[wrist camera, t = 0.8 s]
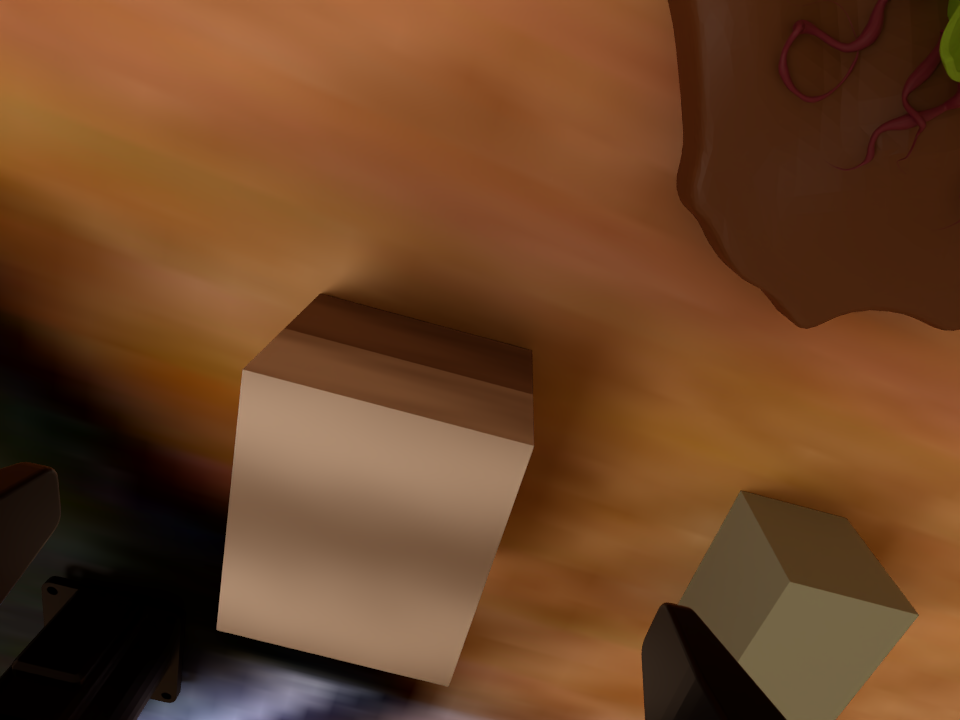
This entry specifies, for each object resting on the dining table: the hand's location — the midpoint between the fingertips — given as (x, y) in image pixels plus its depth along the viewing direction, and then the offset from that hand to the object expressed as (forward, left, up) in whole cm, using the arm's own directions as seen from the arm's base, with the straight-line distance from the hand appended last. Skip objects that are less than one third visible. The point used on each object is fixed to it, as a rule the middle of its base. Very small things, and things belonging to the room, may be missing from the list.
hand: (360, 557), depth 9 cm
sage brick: (-9, -15, -14) cm, 22 cm away
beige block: (-7, +1, -14) cm, 15 cm away
